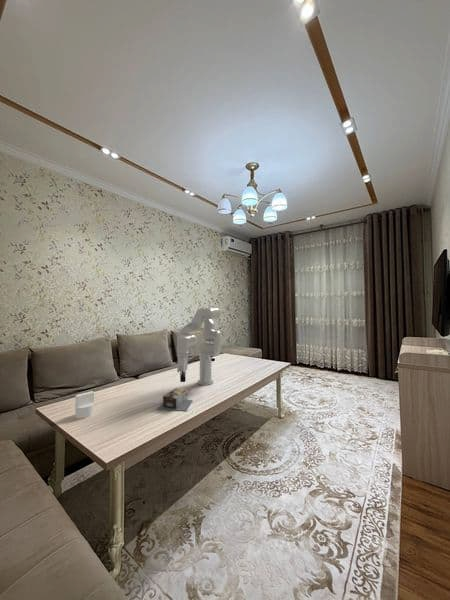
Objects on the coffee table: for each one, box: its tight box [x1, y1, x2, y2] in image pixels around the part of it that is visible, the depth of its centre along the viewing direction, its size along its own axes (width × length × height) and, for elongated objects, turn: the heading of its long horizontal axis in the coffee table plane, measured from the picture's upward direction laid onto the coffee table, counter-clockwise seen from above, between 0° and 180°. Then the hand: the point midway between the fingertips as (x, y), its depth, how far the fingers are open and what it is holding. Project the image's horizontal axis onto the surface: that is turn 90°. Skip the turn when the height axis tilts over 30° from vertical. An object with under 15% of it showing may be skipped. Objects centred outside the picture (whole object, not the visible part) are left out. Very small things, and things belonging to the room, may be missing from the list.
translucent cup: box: [74, 390, 95, 419], centre depth 139 cm, size 9×9×12 cm
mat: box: [156, 399, 193, 412], centre depth 154 cm, size 16×18×1 cm
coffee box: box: [162, 387, 189, 409], centre depth 156 cm, size 9×6×16 cm
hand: (182, 381), depth 166 cm, fingers closed
